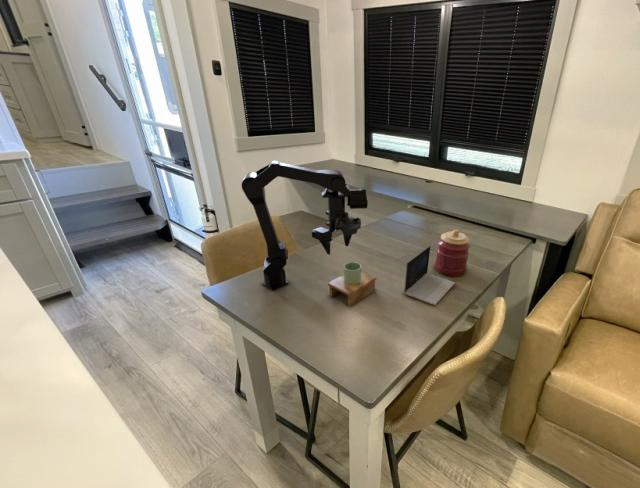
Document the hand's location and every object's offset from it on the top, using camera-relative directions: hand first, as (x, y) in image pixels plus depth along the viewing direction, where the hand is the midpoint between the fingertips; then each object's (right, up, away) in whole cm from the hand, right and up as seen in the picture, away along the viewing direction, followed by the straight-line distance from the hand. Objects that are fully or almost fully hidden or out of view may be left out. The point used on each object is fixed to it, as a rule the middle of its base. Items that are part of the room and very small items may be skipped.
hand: (337, 250), depth 120 cm
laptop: (+34, -15, +3) cm, 37 cm away
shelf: (+6, -16, -2) cm, 17 cm away
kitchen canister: (+44, -7, +18) cm, 48 cm away
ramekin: (+6, -11, -5) cm, 13 cm away
